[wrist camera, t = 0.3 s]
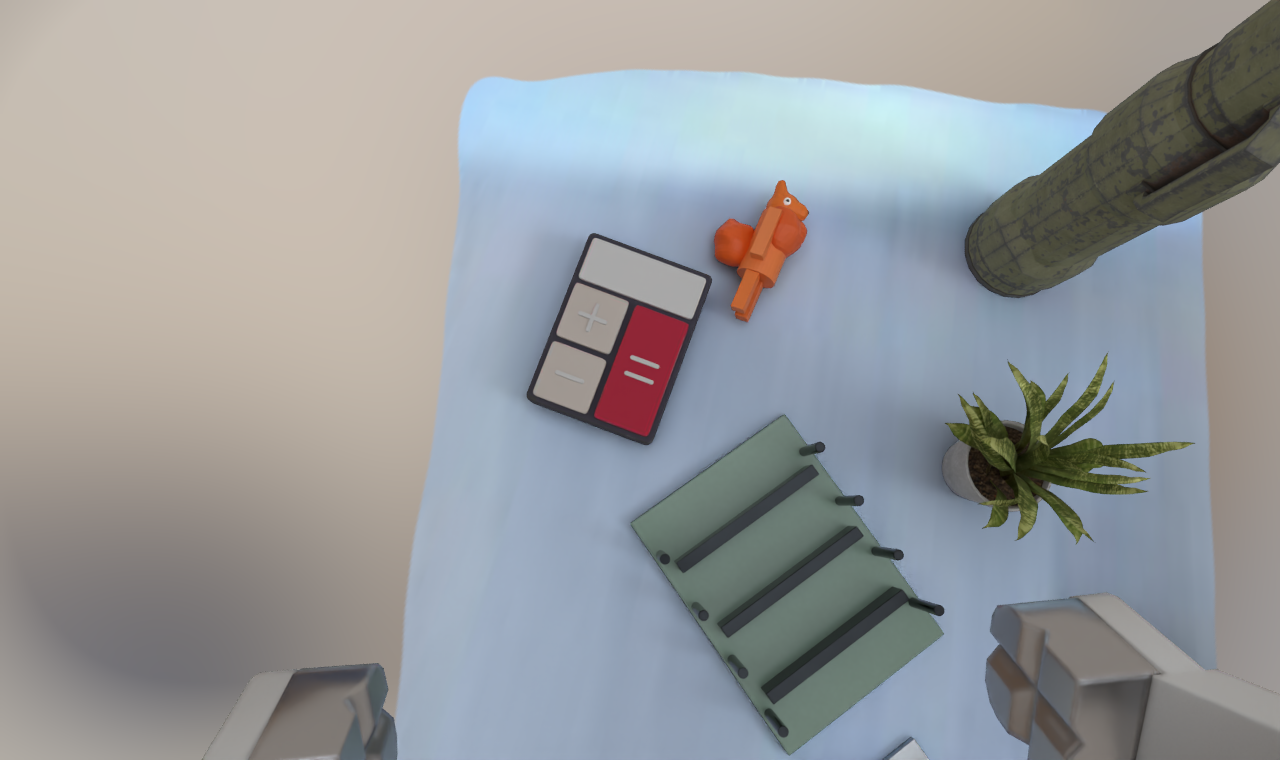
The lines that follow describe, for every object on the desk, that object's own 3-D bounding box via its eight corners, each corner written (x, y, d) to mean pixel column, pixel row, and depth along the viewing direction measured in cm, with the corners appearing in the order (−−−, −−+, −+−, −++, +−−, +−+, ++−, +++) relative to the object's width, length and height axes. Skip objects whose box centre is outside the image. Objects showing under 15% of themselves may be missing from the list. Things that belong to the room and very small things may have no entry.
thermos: (944, 291, 67) (1301, 61, 32) (986, 177, 69) (1364, -153, 34) (1036, 330, 67) (1496, 140, 32) (1076, 214, 68) (1549, -80, 34)
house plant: (1035, 364, 66) (1173, 318, 50) (1085, 520, 64) (1246, 524, 48) (882, 400, 65) (972, 364, 49) (927, 559, 63) (1037, 577, 47)
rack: (940, 632, 62) (974, 645, 56) (786, 753, 60) (805, 779, 54) (782, 414, 64) (799, 405, 59) (629, 523, 62) (631, 525, 57)
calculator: (523, 397, 60) (590, 227, 62) (529, 402, 64) (592, 243, 66) (651, 445, 60) (715, 274, 62) (649, 447, 64) (709, 286, 66)
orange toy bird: (766, 312, 60) (820, 184, 62) (681, 285, 62) (737, 163, 64) (771, 334, 64) (822, 214, 66) (693, 308, 67) (744, 193, 69)
